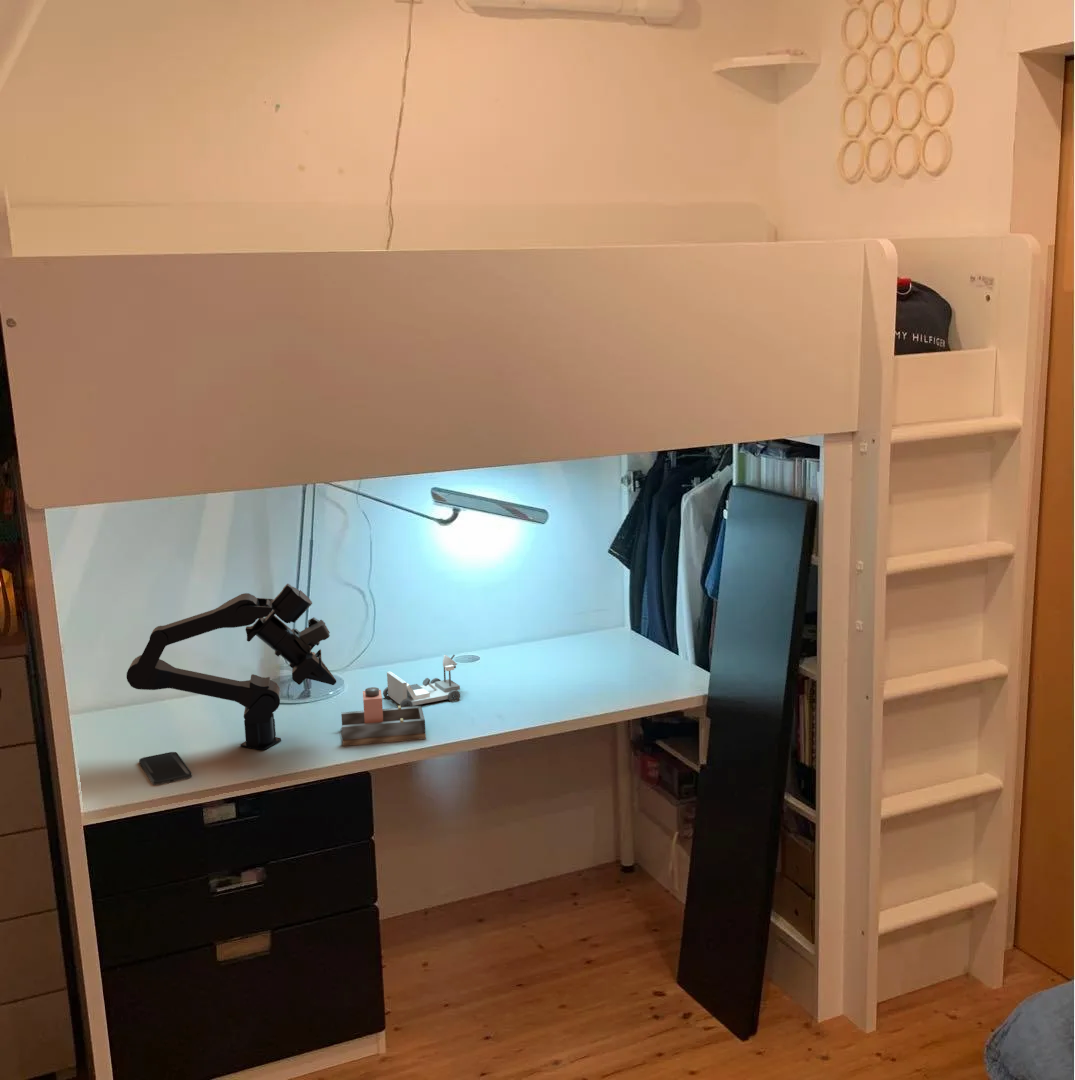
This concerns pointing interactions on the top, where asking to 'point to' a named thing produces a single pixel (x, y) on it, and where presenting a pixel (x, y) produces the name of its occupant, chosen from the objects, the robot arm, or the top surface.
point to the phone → (165, 768)
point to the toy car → (423, 688)
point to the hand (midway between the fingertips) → (335, 683)
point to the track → (384, 726)
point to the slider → (372, 705)
